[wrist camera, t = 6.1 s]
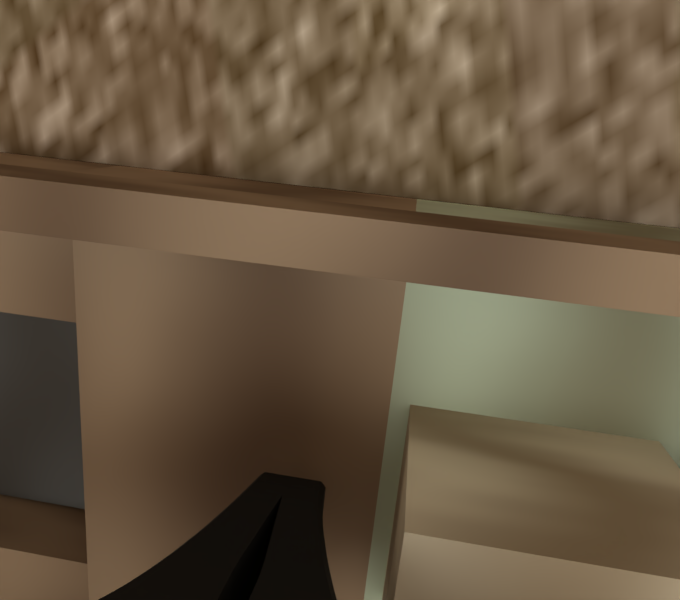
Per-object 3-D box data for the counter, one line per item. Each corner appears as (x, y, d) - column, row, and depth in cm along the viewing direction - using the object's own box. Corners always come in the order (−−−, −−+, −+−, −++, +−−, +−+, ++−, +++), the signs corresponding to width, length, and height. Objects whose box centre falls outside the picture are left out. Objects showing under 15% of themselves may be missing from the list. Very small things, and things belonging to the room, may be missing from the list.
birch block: (382, 594, 14) (367, 776, 10) (410, 404, 12) (404, 532, 8) (601, 634, 13) (676, 844, 9) (659, 441, 12) (776, 596, 8)
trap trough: (-277, 524, 19) (-427, 609, 16) (-390, 108, 15) (-623, 103, 12) (606, 696, 16) (654, 846, 13) (751, 236, 12) (874, 278, 9)
